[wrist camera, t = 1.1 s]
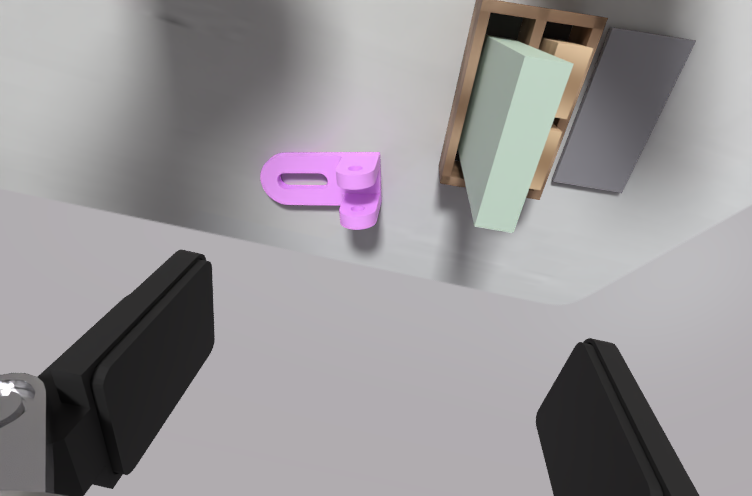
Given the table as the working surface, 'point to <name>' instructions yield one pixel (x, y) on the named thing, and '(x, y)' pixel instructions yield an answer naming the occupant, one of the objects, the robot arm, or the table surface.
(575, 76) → the oak offcut
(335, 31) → the table surface
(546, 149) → the oak offcut
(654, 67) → the charcoal mat
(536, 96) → the green board
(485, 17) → the walnut rack
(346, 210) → the bracket
